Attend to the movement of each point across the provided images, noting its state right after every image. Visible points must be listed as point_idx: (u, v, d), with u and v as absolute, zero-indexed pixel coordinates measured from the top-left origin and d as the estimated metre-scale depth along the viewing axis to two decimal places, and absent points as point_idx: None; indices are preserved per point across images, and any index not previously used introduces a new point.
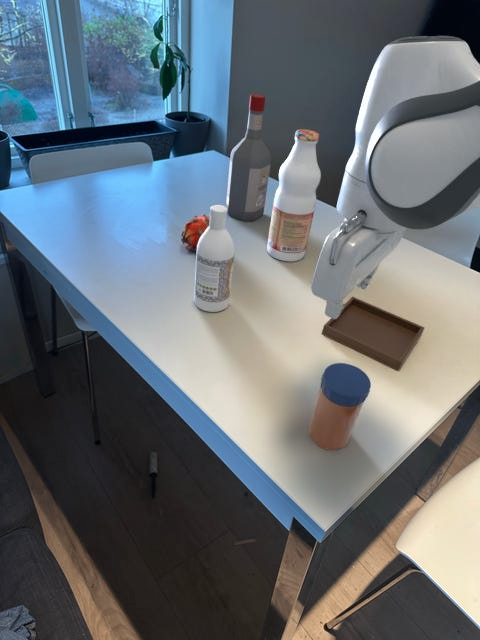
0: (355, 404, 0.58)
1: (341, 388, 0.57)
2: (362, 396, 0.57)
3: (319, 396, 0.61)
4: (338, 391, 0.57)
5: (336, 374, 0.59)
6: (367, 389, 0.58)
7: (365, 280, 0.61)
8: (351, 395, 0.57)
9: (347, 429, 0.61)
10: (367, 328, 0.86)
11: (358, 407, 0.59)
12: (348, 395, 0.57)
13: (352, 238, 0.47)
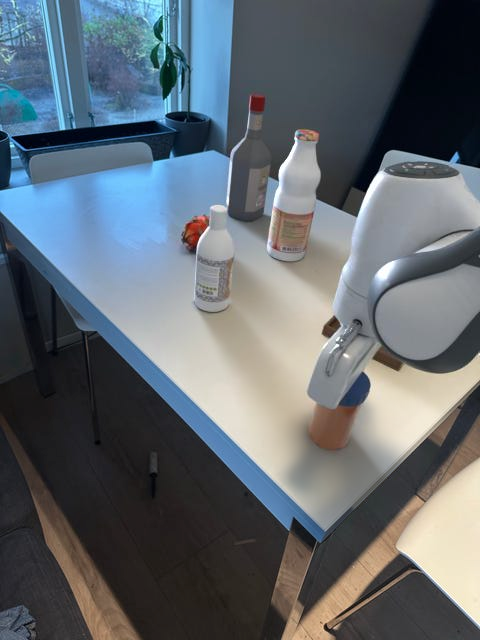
0: (355, 404, 0.58)
1: None
2: (362, 396, 0.57)
3: None
4: None
5: None
6: (367, 389, 0.58)
7: None
8: (351, 395, 0.57)
9: (347, 429, 0.61)
10: None
11: (358, 407, 0.59)
12: (348, 395, 0.57)
13: (348, 351, 0.47)
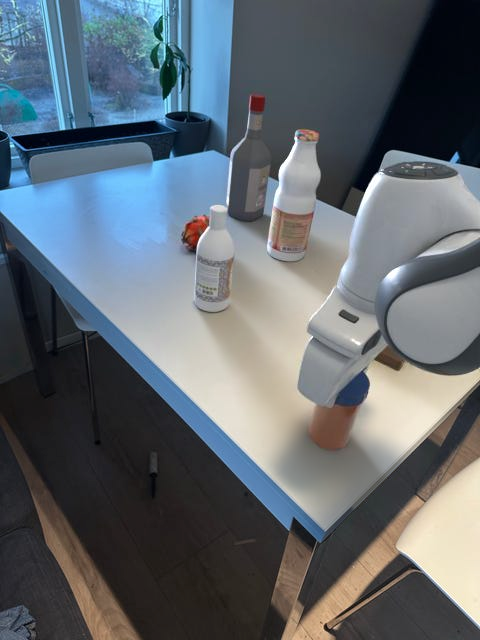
0: None
1: None
2: None
3: None
4: None
5: (356, 384, 0.58)
6: None
7: None
8: None
9: (347, 429, 0.61)
10: None
11: (358, 407, 0.59)
12: None
13: None
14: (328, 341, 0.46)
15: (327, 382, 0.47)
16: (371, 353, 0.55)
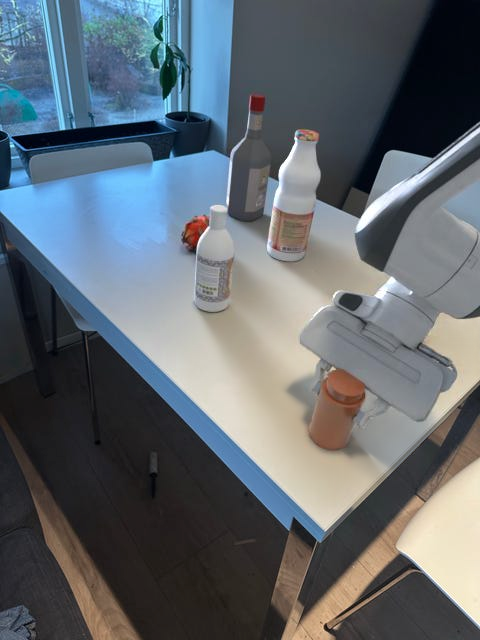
0: None
1: None
2: None
3: (319, 396, 0.61)
4: None
5: None
6: None
7: None
8: None
9: (347, 429, 0.61)
10: None
11: (358, 407, 0.59)
12: None
13: None
14: None
15: None
16: (365, 364, 0.60)
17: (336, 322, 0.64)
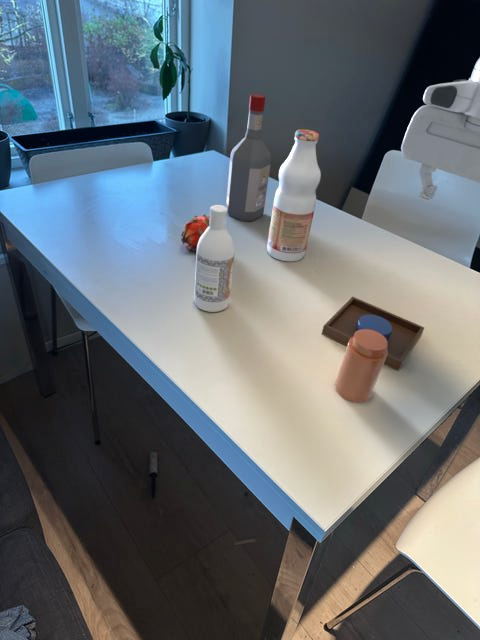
0: None
1: (378, 319, 0.86)
2: (363, 316, 0.87)
3: (346, 353, 0.69)
4: (380, 317, 0.86)
5: (383, 327, 0.84)
6: (361, 318, 0.85)
7: (435, 189, 0.64)
8: (371, 315, 0.87)
9: (371, 382, 0.69)
10: None
11: (381, 361, 0.67)
12: (373, 315, 0.87)
13: None
14: None
15: None
16: (476, 160, 0.57)
17: (436, 121, 0.59)
